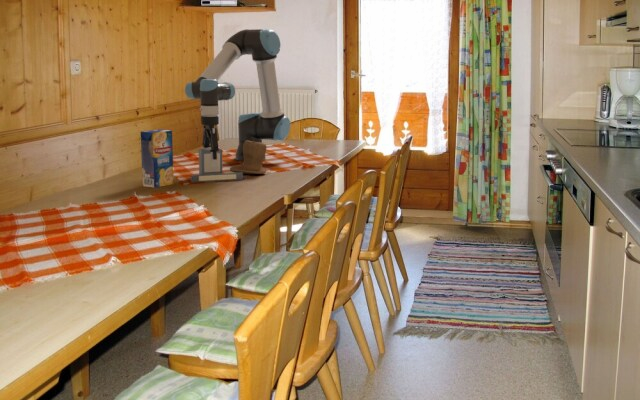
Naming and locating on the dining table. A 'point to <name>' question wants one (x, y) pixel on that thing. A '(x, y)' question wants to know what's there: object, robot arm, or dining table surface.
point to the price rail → (216, 177)
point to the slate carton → (209, 162)
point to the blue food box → (157, 158)
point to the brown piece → (251, 158)
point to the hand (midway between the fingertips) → (210, 164)
